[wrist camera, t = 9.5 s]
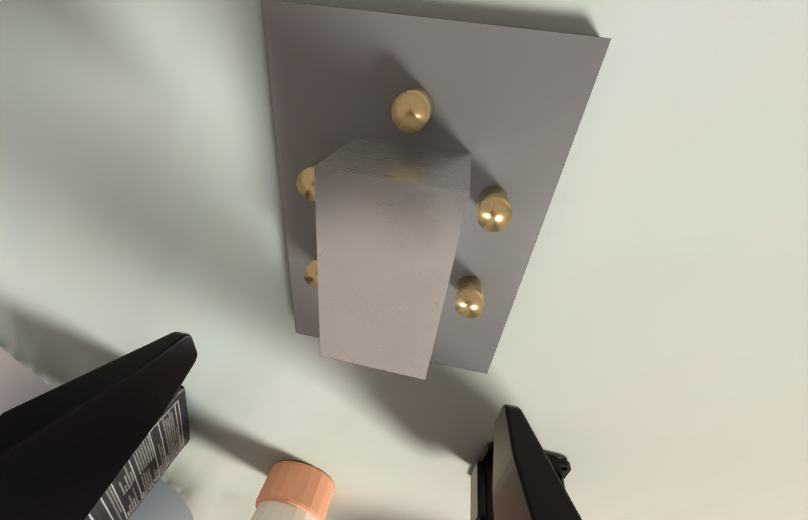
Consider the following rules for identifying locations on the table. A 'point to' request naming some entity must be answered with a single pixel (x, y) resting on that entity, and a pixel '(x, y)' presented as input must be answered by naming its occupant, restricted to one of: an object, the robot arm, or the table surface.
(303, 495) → the pepper shaker
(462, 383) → the table surface
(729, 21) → the table surface
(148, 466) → the small box
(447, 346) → the pin tray
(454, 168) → the block
